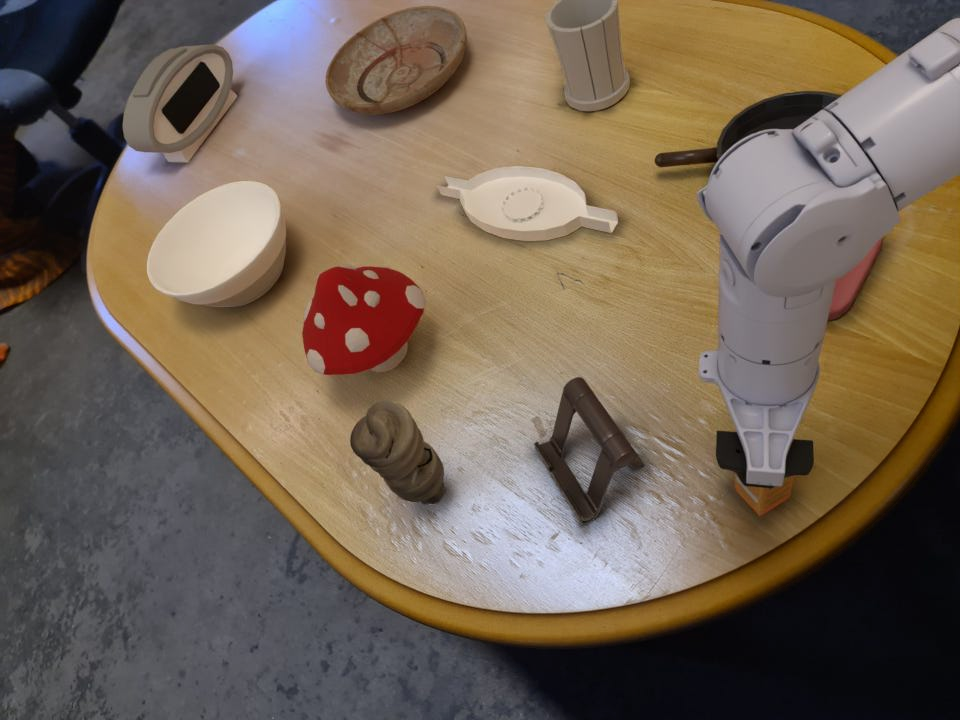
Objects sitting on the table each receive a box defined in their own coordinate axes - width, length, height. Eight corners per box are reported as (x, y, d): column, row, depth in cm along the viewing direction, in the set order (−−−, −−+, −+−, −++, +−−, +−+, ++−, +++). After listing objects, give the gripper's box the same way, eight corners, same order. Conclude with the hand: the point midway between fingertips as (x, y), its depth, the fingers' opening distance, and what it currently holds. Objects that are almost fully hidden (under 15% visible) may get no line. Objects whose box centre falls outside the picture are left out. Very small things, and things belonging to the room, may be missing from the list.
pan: (871, 108, 78) (875, 82, 75) (883, 214, 70) (889, 189, 67) (719, 125, 83) (718, 101, 81) (715, 224, 75) (714, 201, 73)
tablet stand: (536, 452, 67) (514, 410, 61) (607, 411, 67) (591, 365, 61) (581, 527, 62) (562, 490, 55) (658, 482, 62) (647, 440, 55)
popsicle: (900, 203, 68) (844, 319, 63) (897, 214, 69) (842, 329, 64) (842, 192, 71) (784, 303, 66) (840, 203, 72) (783, 312, 67)
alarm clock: (180, 176, 115) (126, 114, 105) (155, 175, 118) (100, 114, 108) (250, 84, 125) (206, 18, 115) (225, 85, 128) (180, 21, 118)
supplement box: (761, 521, 57) (763, 471, 49) (733, 489, 59) (731, 436, 52) (794, 499, 57) (802, 446, 50) (766, 468, 60) (768, 412, 52)
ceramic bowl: (311, 121, 112) (295, 95, 108) (391, 29, 120) (379, 2, 116) (422, 140, 100) (408, 111, 96) (502, 37, 108) (493, 7, 104)
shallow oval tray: (464, 163, 94) (460, 153, 93) (634, 195, 81) (632, 184, 80) (424, 218, 91) (419, 208, 89) (594, 261, 78) (591, 250, 76)
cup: (545, 113, 95) (523, 33, 85) (566, 70, 99) (547, -11, 89) (620, 113, 90) (605, 29, 81) (639, 68, 94) (627, -18, 84)
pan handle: (724, 154, 78) (724, 143, 77) (724, 164, 77) (724, 153, 76) (655, 161, 81) (654, 150, 80) (654, 170, 80) (653, 160, 79)
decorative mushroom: (449, 297, 82) (398, 206, 70) (448, 396, 74) (391, 314, 62) (341, 321, 85) (275, 238, 73) (329, 419, 77) (253, 344, 65)
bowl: (168, 284, 100) (128, 246, 93) (276, 203, 103) (245, 160, 96) (216, 359, 88) (173, 322, 82) (336, 265, 91) (305, 221, 84)
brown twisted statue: (442, 457, 70) (380, 381, 58) (476, 491, 67) (418, 418, 55) (401, 497, 69) (329, 427, 57) (433, 533, 66) (364, 468, 54)
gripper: (703, 232, 45) (705, 350, 56) (691, 431, 38) (696, 522, 48) (824, 229, 43) (801, 352, 53) (836, 440, 35) (807, 534, 46)
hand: (758, 433), depth 51 cm, fingers open, 7 cm apart
